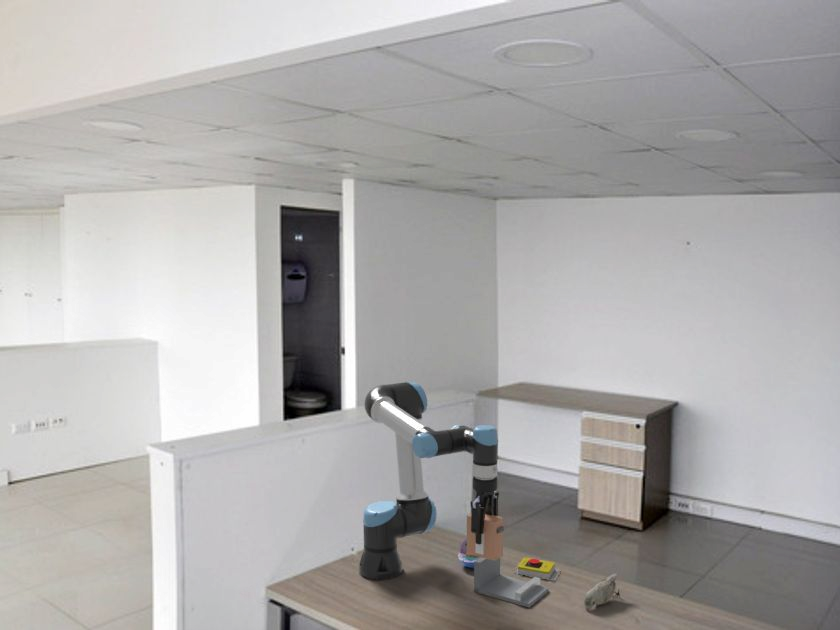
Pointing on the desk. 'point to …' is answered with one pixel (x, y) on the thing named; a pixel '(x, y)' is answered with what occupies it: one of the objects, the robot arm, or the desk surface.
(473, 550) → the cabinet block
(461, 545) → the cell model
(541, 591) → the gray bracket stand
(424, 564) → the desk surface
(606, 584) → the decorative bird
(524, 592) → the strip
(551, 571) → the emergency button
